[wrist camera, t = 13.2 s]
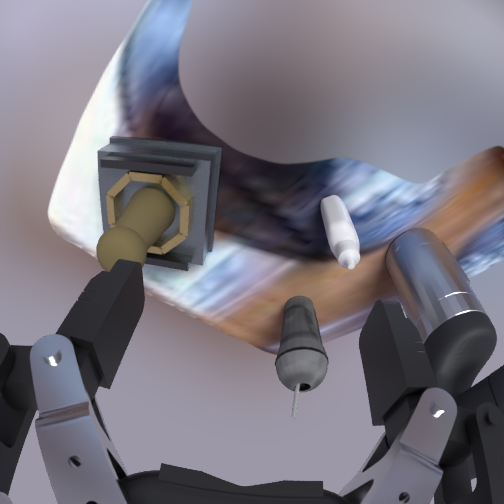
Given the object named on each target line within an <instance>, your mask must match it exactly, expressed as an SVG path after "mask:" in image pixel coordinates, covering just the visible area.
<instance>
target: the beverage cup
mask: <svg viewBox="0 0 504 504" xmlns="http://www.w3.org/2000/svg"><path fill="white" fill-rule="evenodd" d="M275 366H276V370H277V374H278V377H279V380H280V381H281V382H282V384H283V385H284V386H286V387H287V388H288V389H290V390H292V391H295V394H294V401H293V408H292V415H291V418H292V419H295V416H296V410H297V403H298V395H299V392H307V391H311V390H312V389H314V388H316V387H317V386H318V385H320V384H321V382H322V381H323V379H324V377H325V375H326V373H327V366H328V357H327V355H326V352H325V349H324V347H323V345H322V340H321V336H320V331H319V326H318V322H317V318H316V313H315V309H314V306H313V303H312V301H311V300H310V299H309V298H307V297H304V296H295V297H293V298H291V299H289V300H288V301H287V303H286V305H285V311H284V317H283V325H282V333H281V341H280V348H279V351H278V355H277V358H276V361H275Z"/></svg>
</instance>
